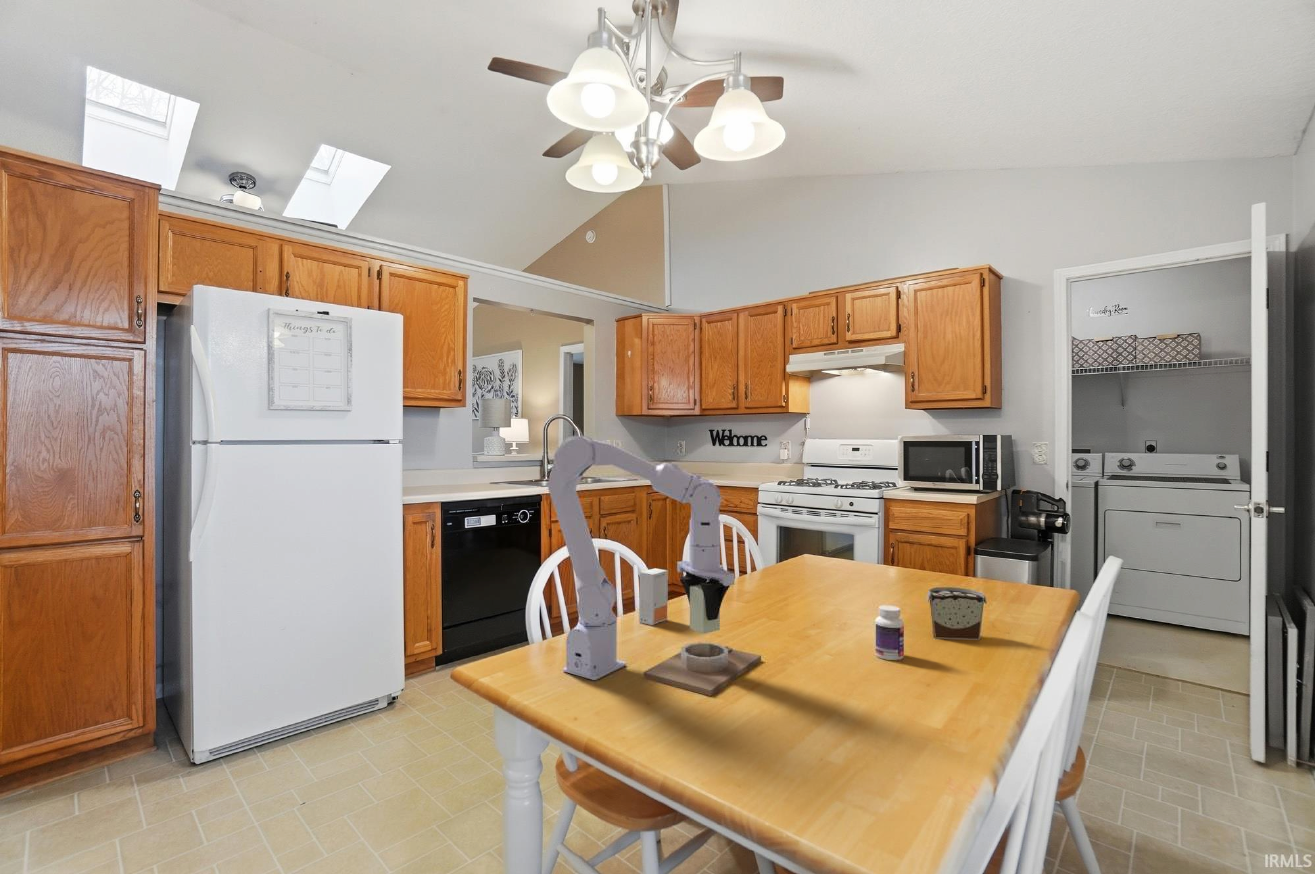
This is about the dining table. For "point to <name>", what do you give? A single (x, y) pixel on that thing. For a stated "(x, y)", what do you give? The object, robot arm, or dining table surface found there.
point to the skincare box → (653, 596)
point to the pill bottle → (889, 633)
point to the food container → (956, 612)
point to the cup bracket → (702, 667)
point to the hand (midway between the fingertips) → (704, 616)
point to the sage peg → (700, 612)
